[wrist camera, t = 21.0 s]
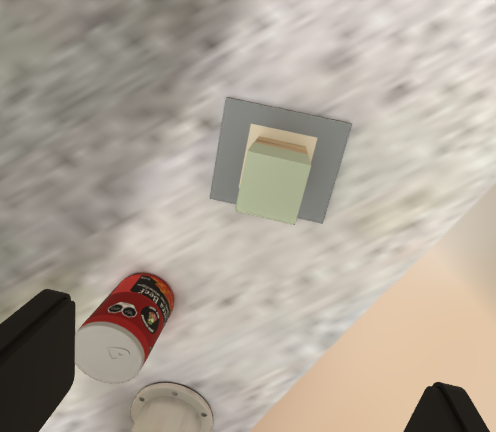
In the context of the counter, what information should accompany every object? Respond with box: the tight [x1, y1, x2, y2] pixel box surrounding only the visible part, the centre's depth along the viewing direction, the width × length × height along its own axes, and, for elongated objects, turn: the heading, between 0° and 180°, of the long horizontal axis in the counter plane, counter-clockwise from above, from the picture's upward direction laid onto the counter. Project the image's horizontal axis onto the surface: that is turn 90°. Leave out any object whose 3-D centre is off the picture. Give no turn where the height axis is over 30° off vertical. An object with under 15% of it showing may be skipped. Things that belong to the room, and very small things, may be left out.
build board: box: [210, 97, 352, 224], centre depth 37 cm, size 11×13×1 cm
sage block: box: [235, 142, 311, 225], centre depth 29 cm, size 5×5×5 cm
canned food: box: [75, 274, 174, 383], centre depth 40 cm, size 8×8×11 cm
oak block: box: [255, 136, 308, 154], centre depth 34 cm, size 5×5×5 cm
